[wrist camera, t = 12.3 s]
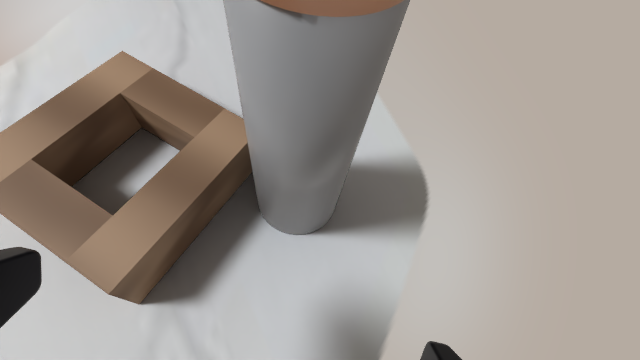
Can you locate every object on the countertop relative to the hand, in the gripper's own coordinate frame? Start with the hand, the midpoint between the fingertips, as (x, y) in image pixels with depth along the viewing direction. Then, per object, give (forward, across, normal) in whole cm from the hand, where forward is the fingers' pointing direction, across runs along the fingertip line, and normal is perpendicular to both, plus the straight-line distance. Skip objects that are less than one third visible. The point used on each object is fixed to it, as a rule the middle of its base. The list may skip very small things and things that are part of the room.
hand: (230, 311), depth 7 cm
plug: (+12, 0, +1) cm, 12 cm away
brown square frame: (+11, +9, +2) cm, 14 cm away
